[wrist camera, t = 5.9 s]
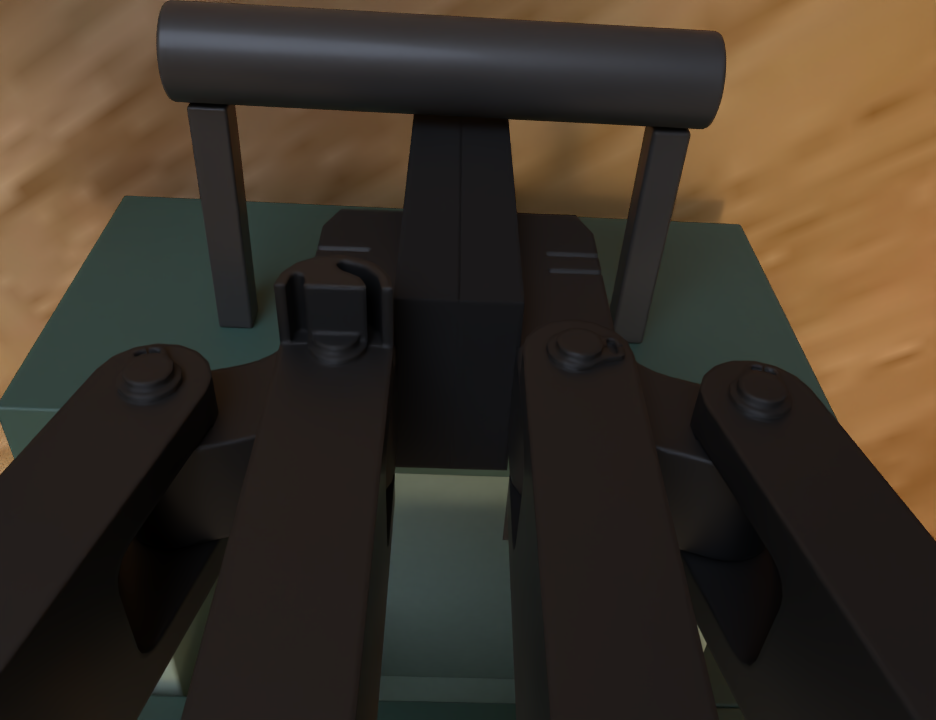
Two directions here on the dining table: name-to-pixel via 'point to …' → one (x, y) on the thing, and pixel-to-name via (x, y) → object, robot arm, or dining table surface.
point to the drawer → (299, 225)
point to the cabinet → (456, 705)
